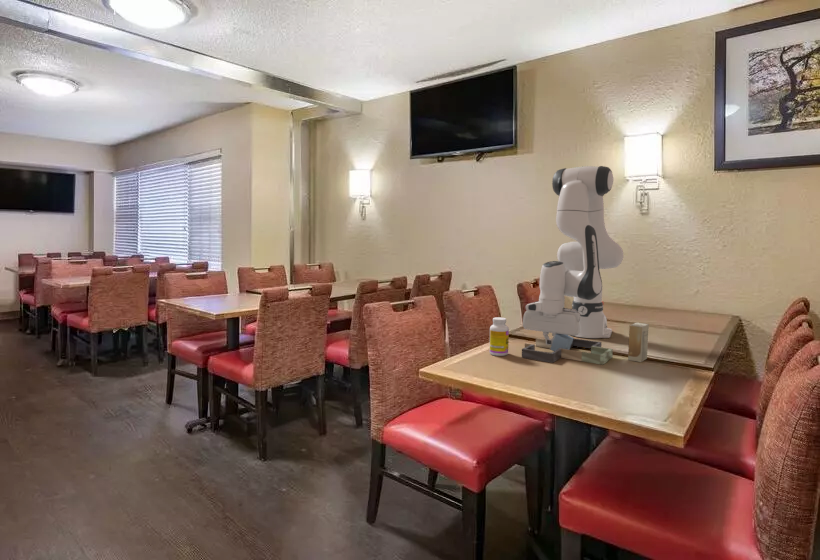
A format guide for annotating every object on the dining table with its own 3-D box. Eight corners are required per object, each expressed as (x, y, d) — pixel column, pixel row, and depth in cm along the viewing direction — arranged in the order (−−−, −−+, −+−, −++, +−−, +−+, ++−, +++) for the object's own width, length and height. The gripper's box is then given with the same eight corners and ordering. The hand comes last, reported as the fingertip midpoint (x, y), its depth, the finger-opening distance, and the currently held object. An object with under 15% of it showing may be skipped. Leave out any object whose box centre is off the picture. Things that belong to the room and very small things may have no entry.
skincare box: (634, 356, 168) (636, 322, 166) (647, 359, 164) (649, 323, 163) (627, 360, 163) (628, 324, 162) (640, 362, 160) (642, 326, 159)
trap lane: (544, 341, 189) (545, 334, 189) (618, 352, 173) (618, 344, 172) (514, 356, 168) (515, 347, 168) (595, 370, 151) (596, 361, 151)
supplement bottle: (508, 356, 167) (509, 320, 166) (489, 355, 169) (489, 319, 167) (508, 352, 174) (509, 317, 172) (489, 351, 175) (490, 316, 174)
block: (555, 346, 175) (560, 332, 174) (568, 352, 173) (573, 338, 171) (550, 349, 171) (555, 334, 170) (563, 355, 169) (569, 340, 167)
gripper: (583, 308, 168) (581, 347, 170) (528, 303, 181) (527, 339, 182) (577, 310, 163) (575, 350, 165) (521, 305, 176) (520, 342, 177)
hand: (550, 344), depth 174 cm, fingers closed
